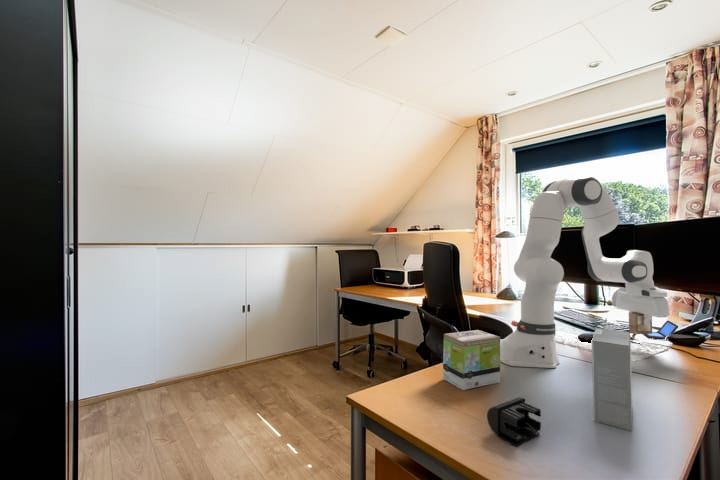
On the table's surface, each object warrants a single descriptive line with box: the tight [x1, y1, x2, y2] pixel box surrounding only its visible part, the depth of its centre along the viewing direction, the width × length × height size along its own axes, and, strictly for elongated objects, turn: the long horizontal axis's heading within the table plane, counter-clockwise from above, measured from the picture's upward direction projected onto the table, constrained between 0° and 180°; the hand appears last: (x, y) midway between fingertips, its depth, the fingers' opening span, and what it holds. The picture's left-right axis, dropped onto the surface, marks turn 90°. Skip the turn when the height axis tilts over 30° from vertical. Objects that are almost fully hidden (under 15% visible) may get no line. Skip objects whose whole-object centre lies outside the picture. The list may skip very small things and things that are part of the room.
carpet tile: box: [555, 327, 669, 363], centre depth 146 cm, size 39×30×2 cm
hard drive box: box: [591, 327, 633, 432], centre depth 84 cm, size 16×8×20 cm, turn 141°
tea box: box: [442, 329, 501, 391], centre depth 104 cm, size 15×10×15 cm, turn 115°
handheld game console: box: [643, 320, 679, 340], centre depth 155 cm, size 12×11×7 cm
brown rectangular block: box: [628, 312, 653, 335], centre depth 133 cm, size 7×3×8 cm, turn 94°
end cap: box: [486, 396, 542, 448], centre depth 75 cm, size 10×7×7 cm
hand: (640, 324), depth 133 cm, fingers closed on brown rectangular block, 3 cm apart
